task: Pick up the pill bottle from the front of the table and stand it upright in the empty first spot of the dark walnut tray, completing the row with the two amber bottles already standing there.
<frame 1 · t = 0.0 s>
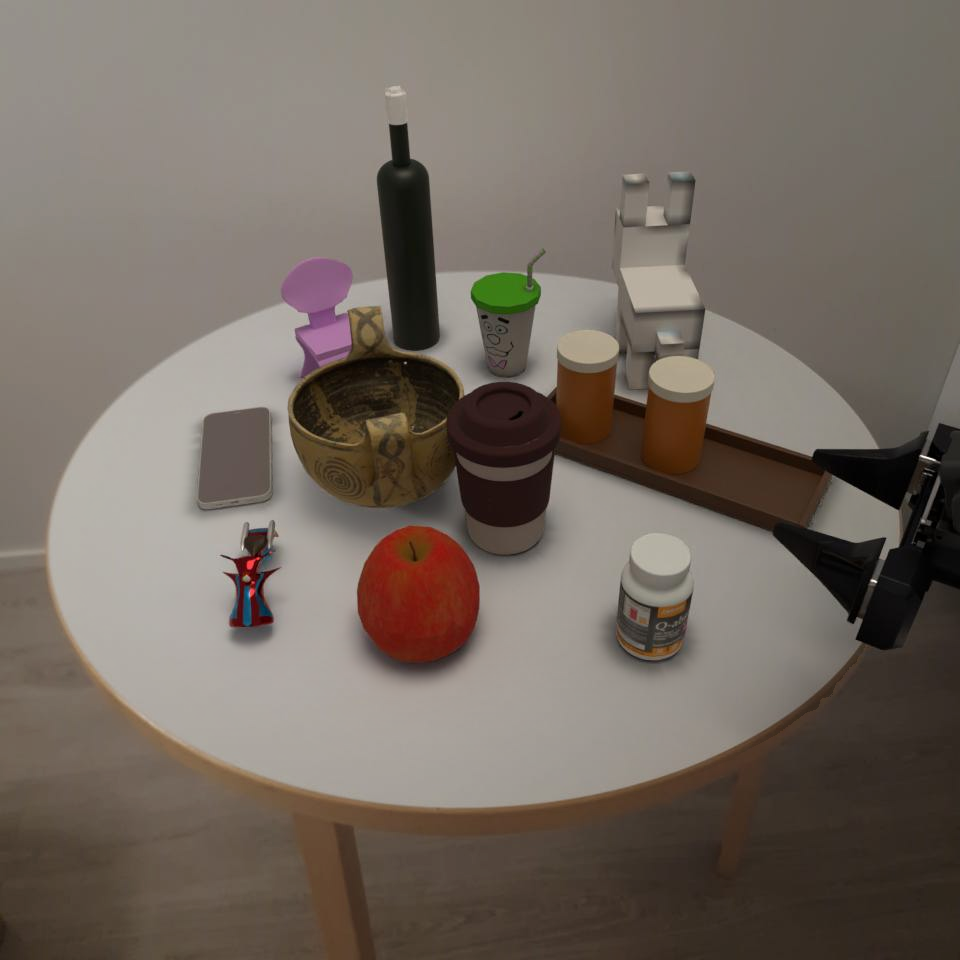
hand: (794, 490, 66), 16 cm above the table, tool horizontal, fingers open, 9 cm apart
amber bottle far: (583, 426, 98), resting on tray
pill bottle: (648, 637, 77), on the table
amber bottle middle: (670, 455, 94), resting on tray
hoverbike: (260, 594, 82), on the table
toy llama: (650, 359, 109), on the table
toy chair: (339, 387, 106), on the table
apple: (422, 630, 78), on the table
ceramic bowl: (387, 483, 93), on the table
coffee cup: (505, 531, 87), on the table
smartphone: (237, 460, 96), on the table
tray: (669, 459, 94), on the table
cup: (506, 368, 108), on the table
wine bottle: (417, 339, 113), on the table
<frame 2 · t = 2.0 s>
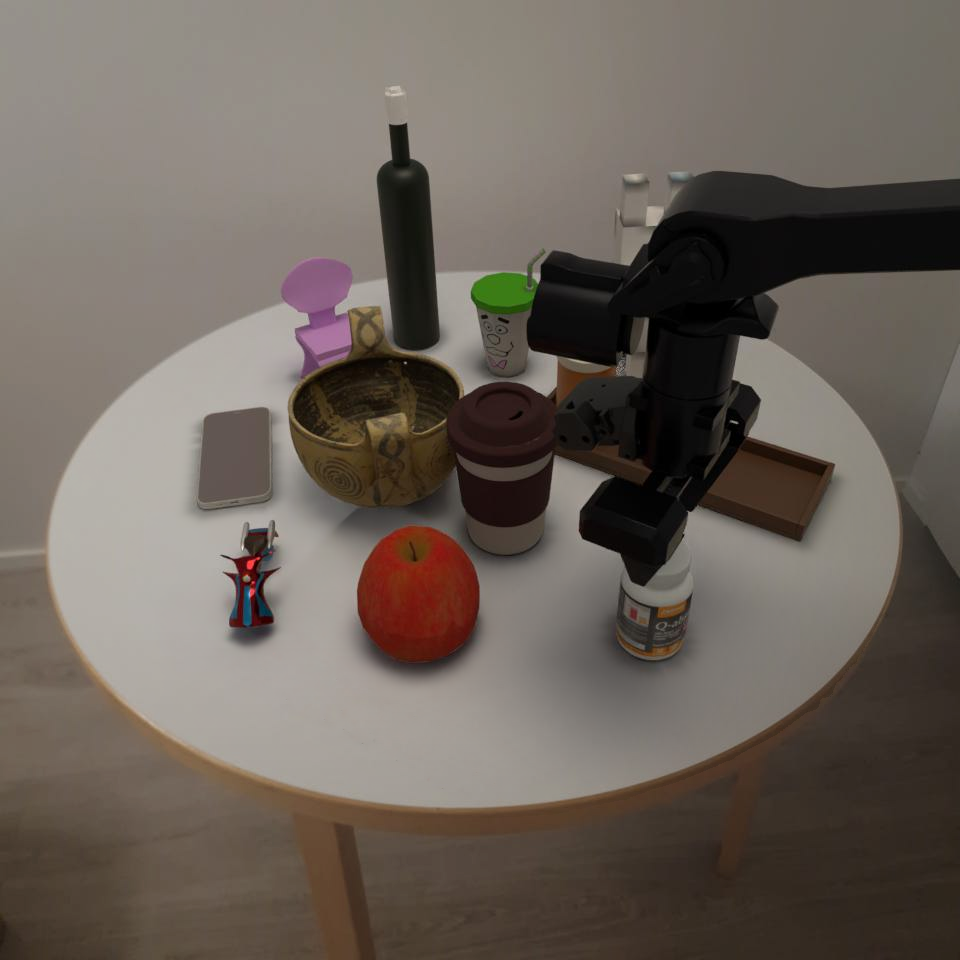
hand: (663, 544, 70), 11 cm above the table, tool pointing down, fingers open, 9 cm apart
nothing on the table moved.
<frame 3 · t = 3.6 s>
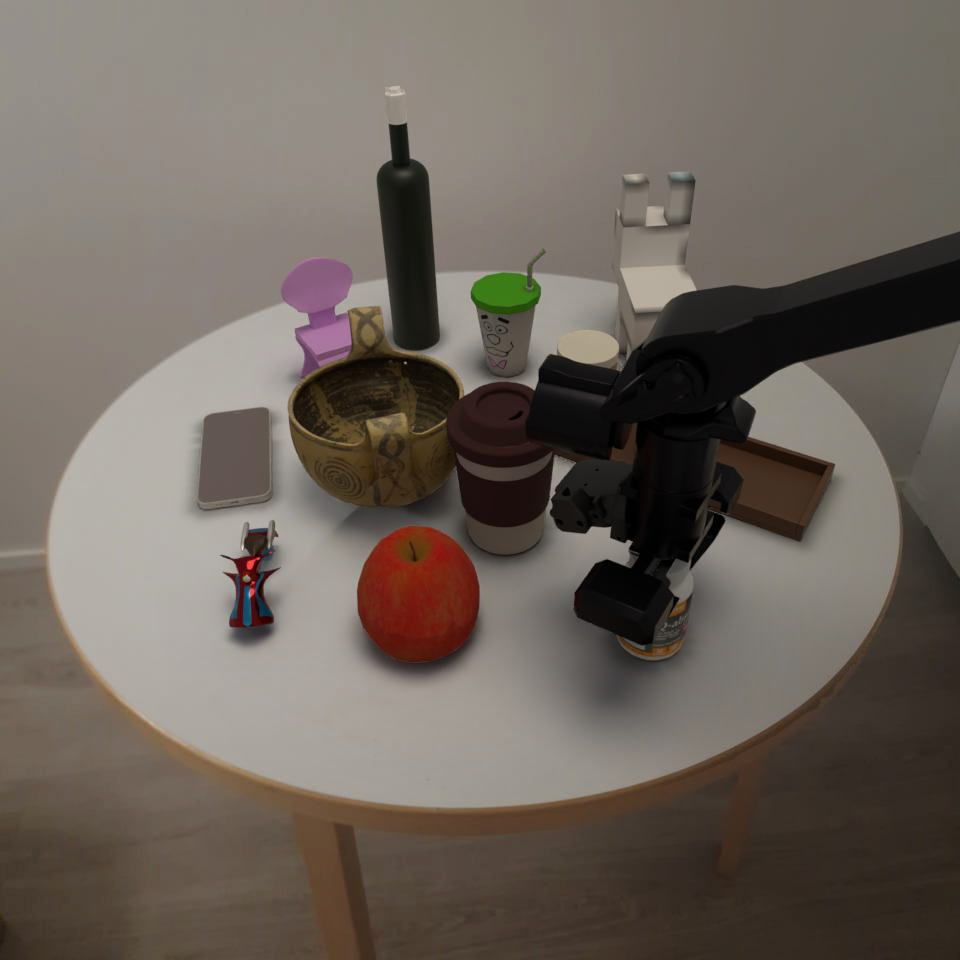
hand: (652, 612, 75), 3 cm above the table, tool pointing down, fingers closed on pill bottle, 5 cm apart
pill bottle: (648, 637, 77), on the table, touching gripper
everything else where it was.
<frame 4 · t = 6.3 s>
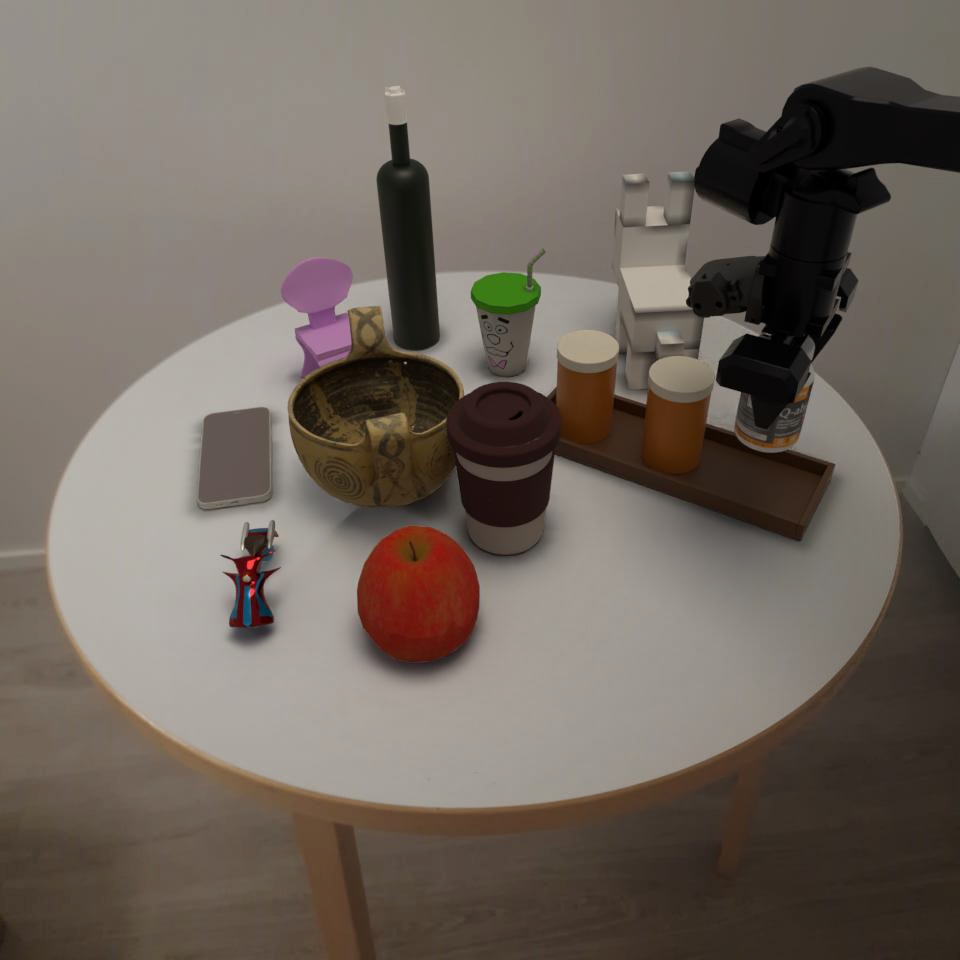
hand: (772, 408, 80), 12 cm above the table, tool pointing down, fingers closed on pill bottle, 5 cm apart
pill bottle: (765, 437, 82), point 9 cm above the table, touching gripper
everything else where it was.
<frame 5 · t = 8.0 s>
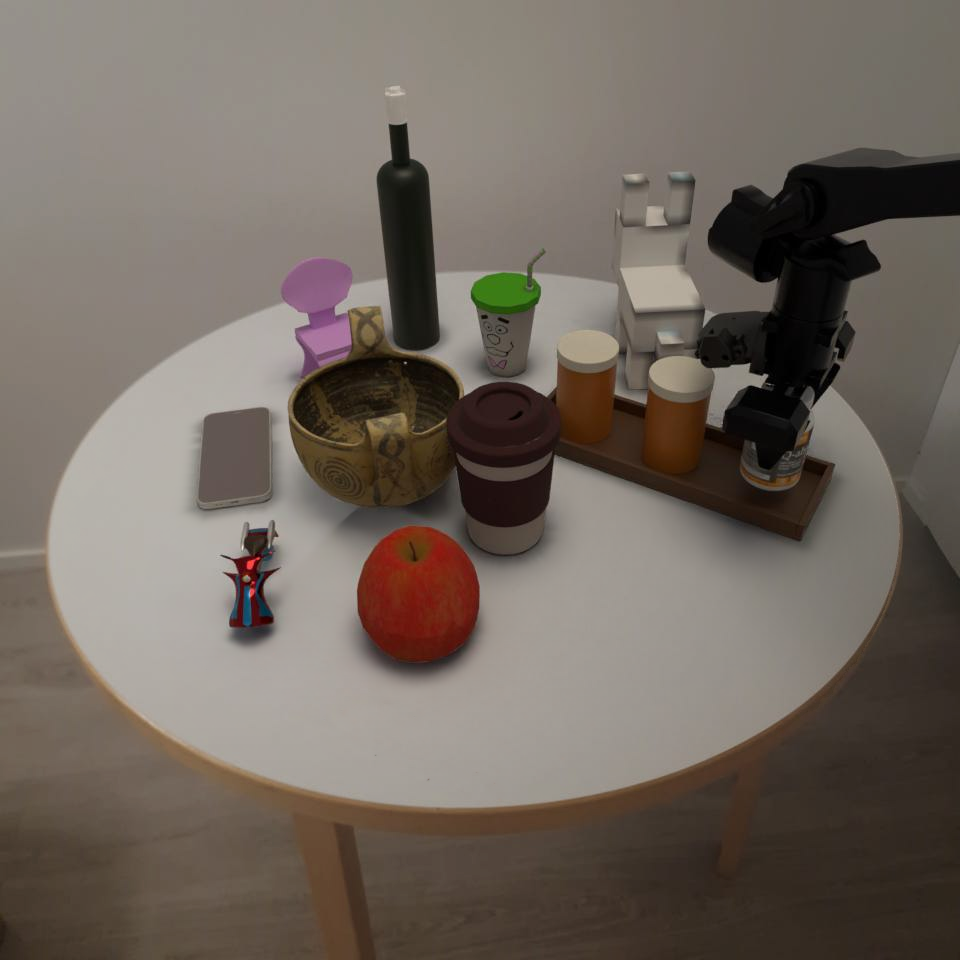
hand: (775, 450, 86), 5 cm above the table, tool pointing down, fingers closed on pill bottle, 5 cm apart
pill bottle: (768, 476, 88), point 2 cm above the table, touching gripper
everything else where it was.
when the fingers open (4 cm above the table, at t = 9.0 s): pill bottle stays where it is, resting on tray.
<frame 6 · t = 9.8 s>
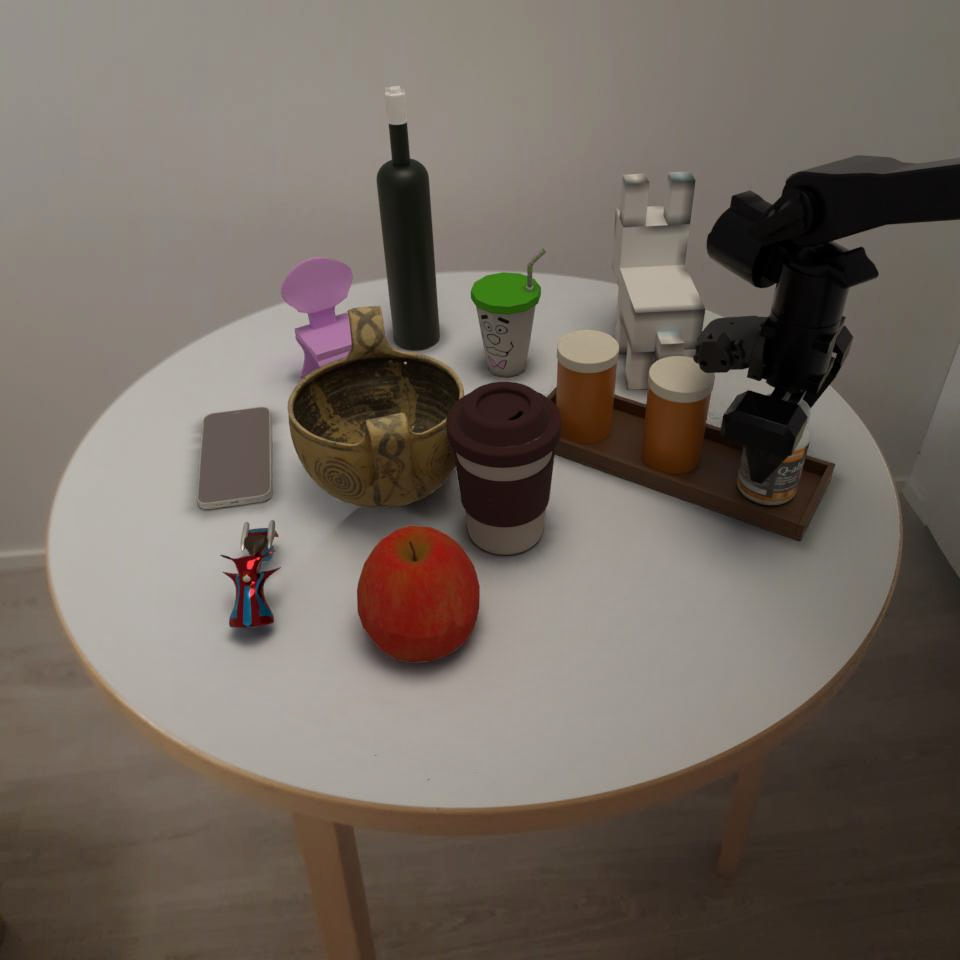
hand: (772, 454, 87), 5 cm above the table, tool pointing down, fingers open, 9 cm apart
pill bottle: (765, 490, 90), resting on tray
everything else where it was.
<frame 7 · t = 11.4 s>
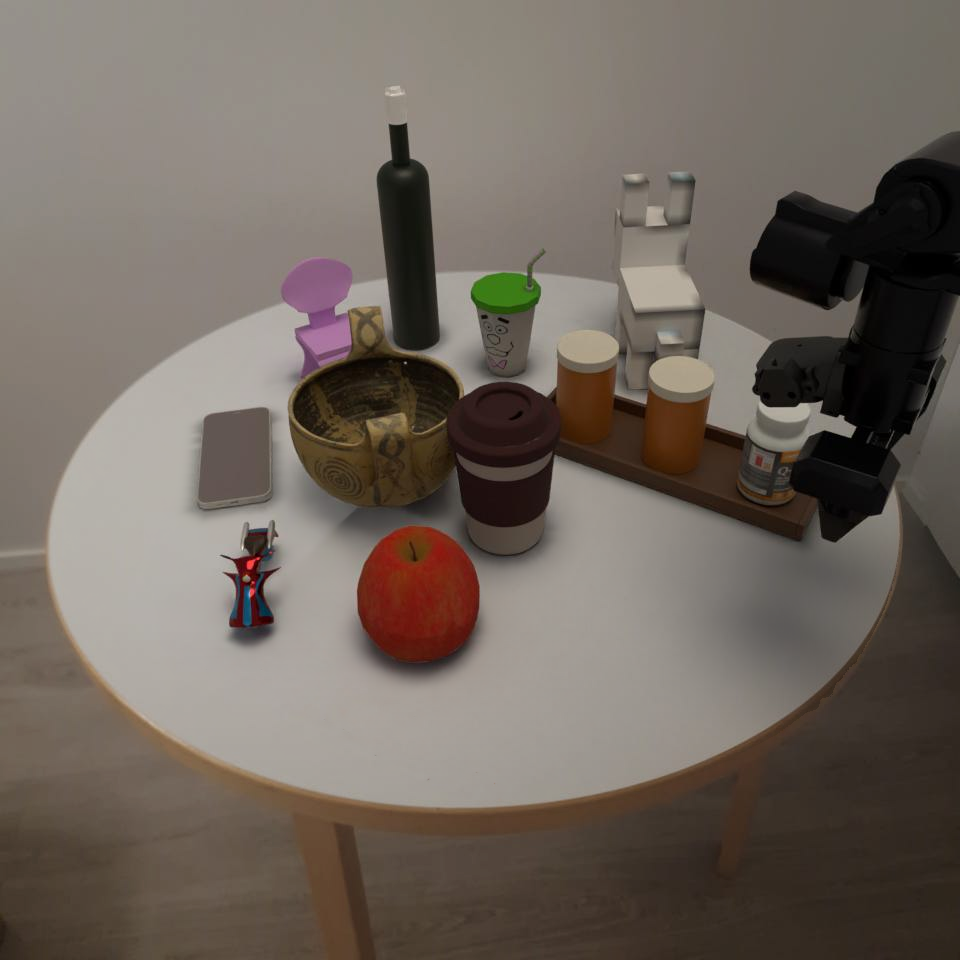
hand: (846, 503, 71), 12 cm above the table, tool pointing down, fingers open, 9 cm apart
nothing on the table moved.
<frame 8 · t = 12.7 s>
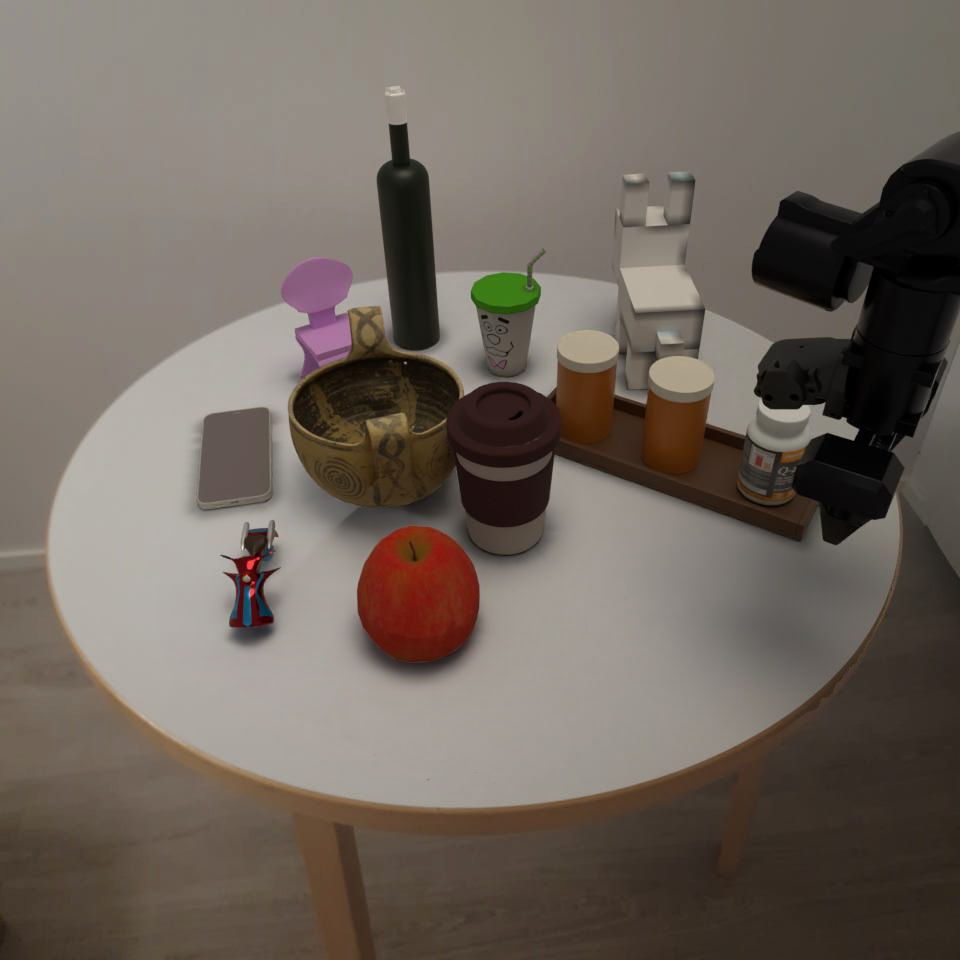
hand: (846, 505, 71), 12 cm above the table, tool pointing down, fingers open, 9 cm apart
nothing on the table moved.
at the end: pill bottle 0.1 cm from the target spot in the tray, point 0.3 cm above the tray's base; pill bottle tilted 0°; the gripper is holding nothing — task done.
